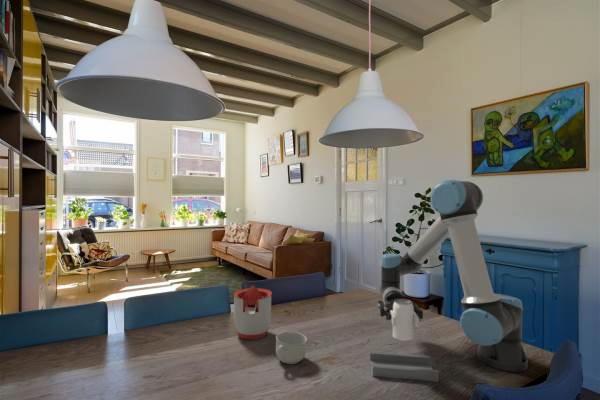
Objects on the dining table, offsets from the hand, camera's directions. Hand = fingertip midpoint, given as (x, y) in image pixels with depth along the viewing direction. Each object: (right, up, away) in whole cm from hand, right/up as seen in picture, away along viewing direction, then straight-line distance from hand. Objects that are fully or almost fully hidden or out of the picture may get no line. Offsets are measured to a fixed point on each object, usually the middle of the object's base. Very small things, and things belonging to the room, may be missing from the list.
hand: (406, 322), depth 103 cm
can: (+1, -7, +5) cm, 9 cm away
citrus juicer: (-53, -17, +31) cm, 64 cm away
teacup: (-37, -17, +10) cm, 42 cm away
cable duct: (0, -18, +5) cm, 18 cm away
